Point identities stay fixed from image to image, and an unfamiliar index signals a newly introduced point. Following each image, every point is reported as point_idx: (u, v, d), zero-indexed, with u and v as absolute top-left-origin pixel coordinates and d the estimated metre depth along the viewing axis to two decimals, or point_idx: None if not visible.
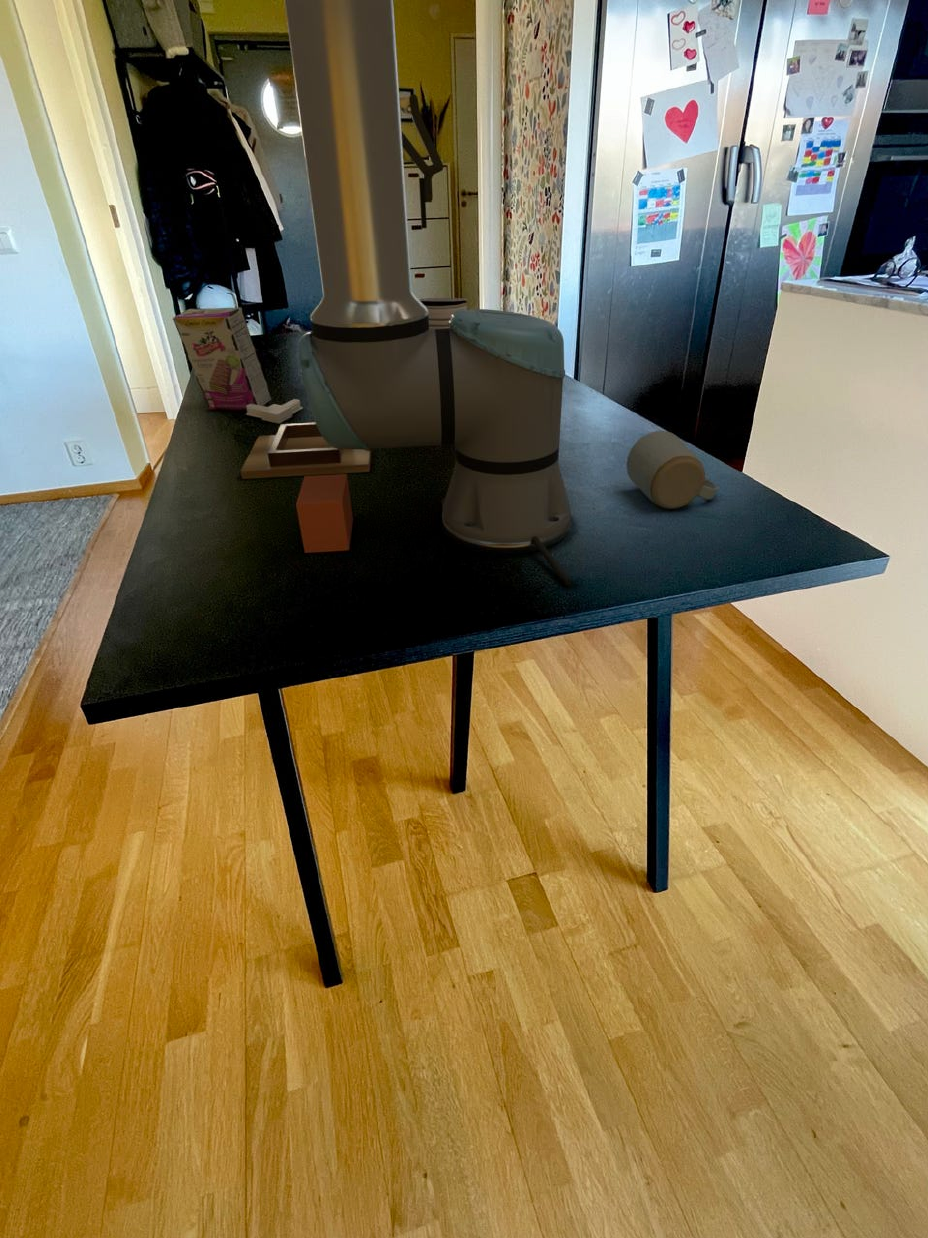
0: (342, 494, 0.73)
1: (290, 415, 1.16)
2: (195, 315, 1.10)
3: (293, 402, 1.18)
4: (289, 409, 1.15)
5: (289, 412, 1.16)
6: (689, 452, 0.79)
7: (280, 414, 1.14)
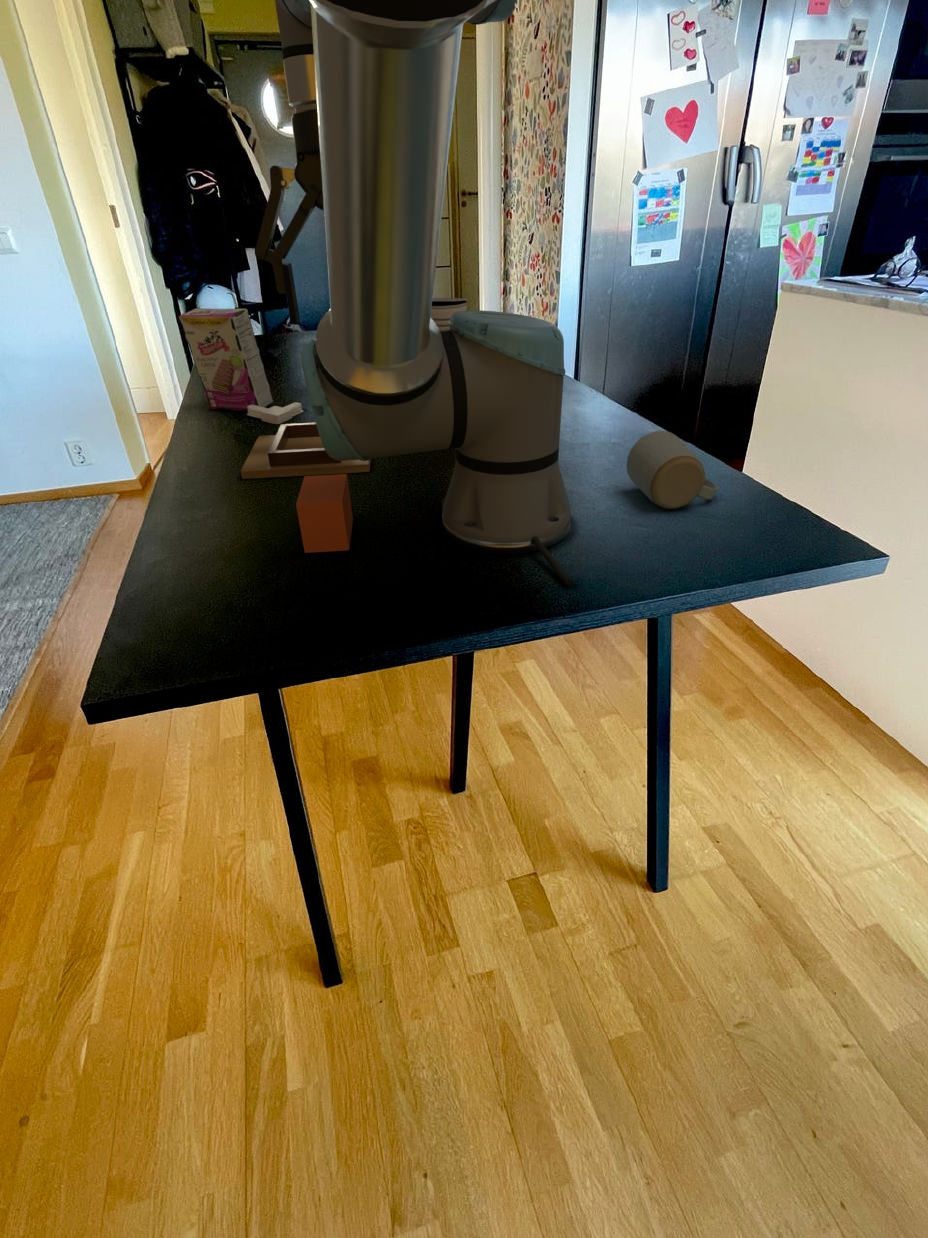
0: (342, 494, 0.73)
1: (290, 417, 1.16)
2: (201, 314, 1.11)
3: (294, 405, 1.19)
4: (289, 411, 1.16)
5: (289, 414, 1.16)
6: (689, 452, 0.79)
7: (280, 416, 1.14)
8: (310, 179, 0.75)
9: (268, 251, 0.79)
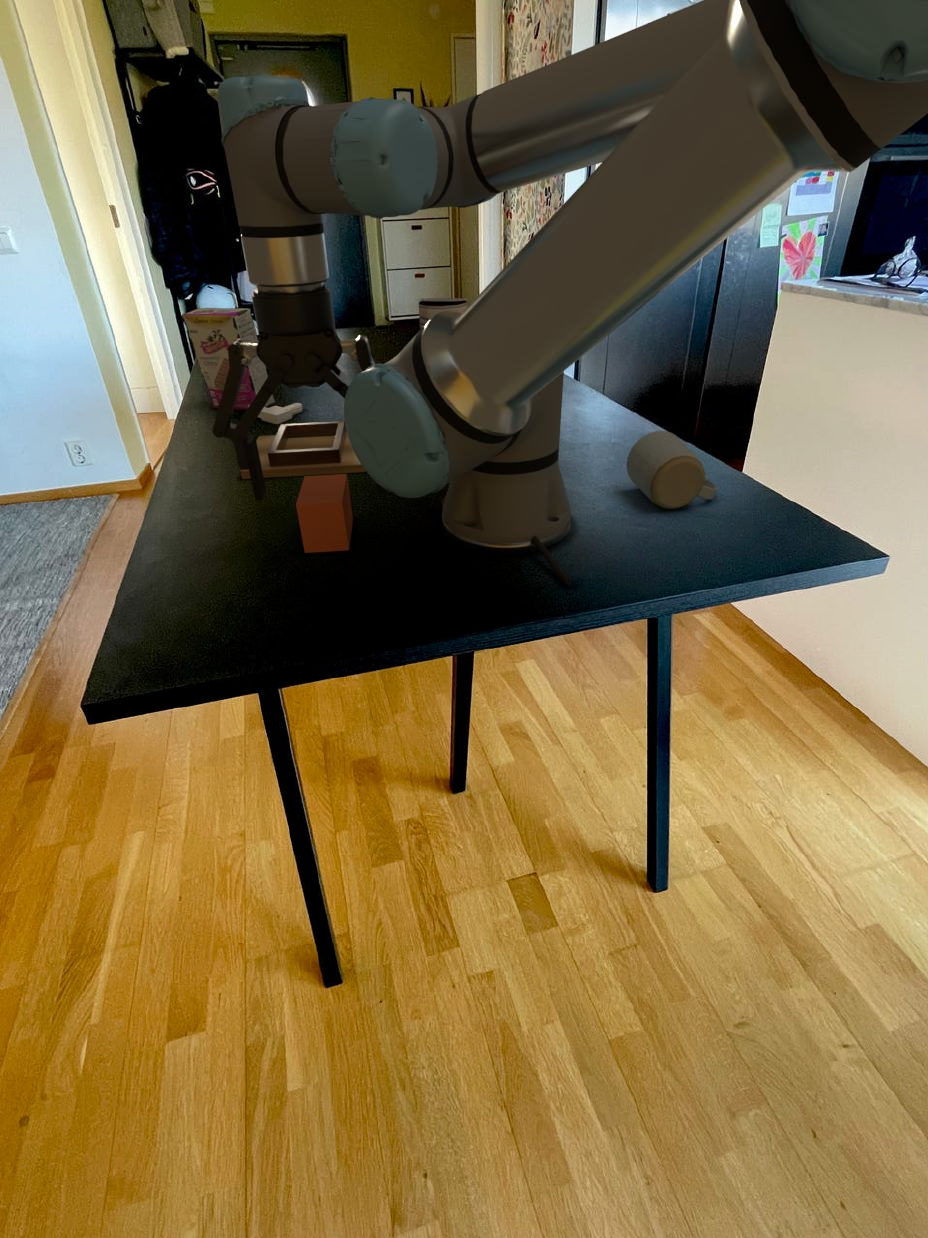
0: (342, 494, 0.73)
1: (290, 417, 1.16)
2: (204, 313, 1.11)
3: (295, 405, 1.19)
4: (289, 411, 1.16)
5: (289, 414, 1.16)
6: (689, 452, 0.79)
7: (279, 415, 1.14)
8: (275, 357, 0.66)
9: (228, 428, 0.70)
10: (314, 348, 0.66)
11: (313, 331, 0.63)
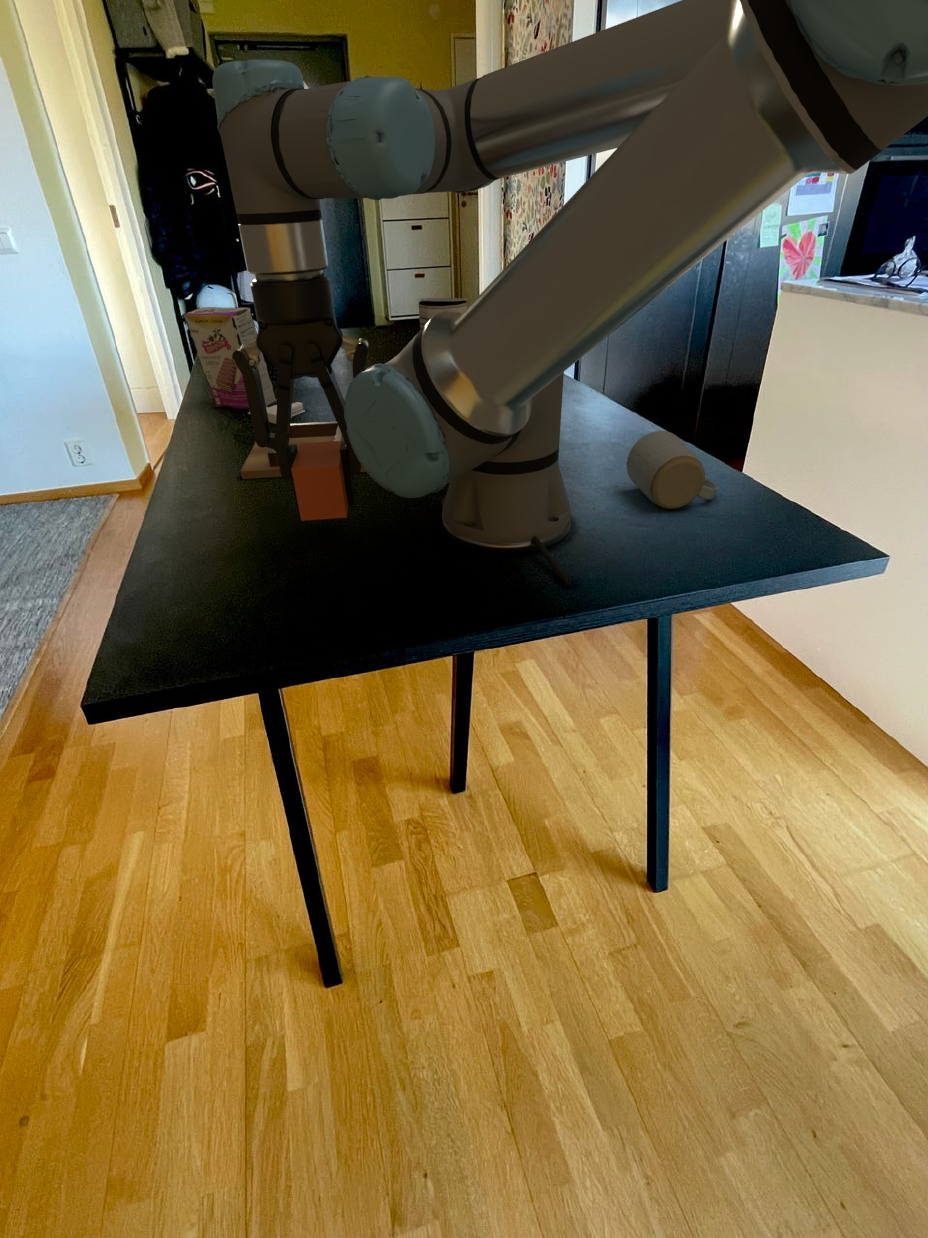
0: (339, 459, 0.71)
1: None
2: (205, 313, 1.12)
3: (295, 405, 1.18)
4: None
5: None
6: (689, 452, 0.79)
7: None
8: (275, 348, 0.65)
9: (271, 438, 0.70)
10: (314, 338, 0.65)
11: (313, 319, 0.62)
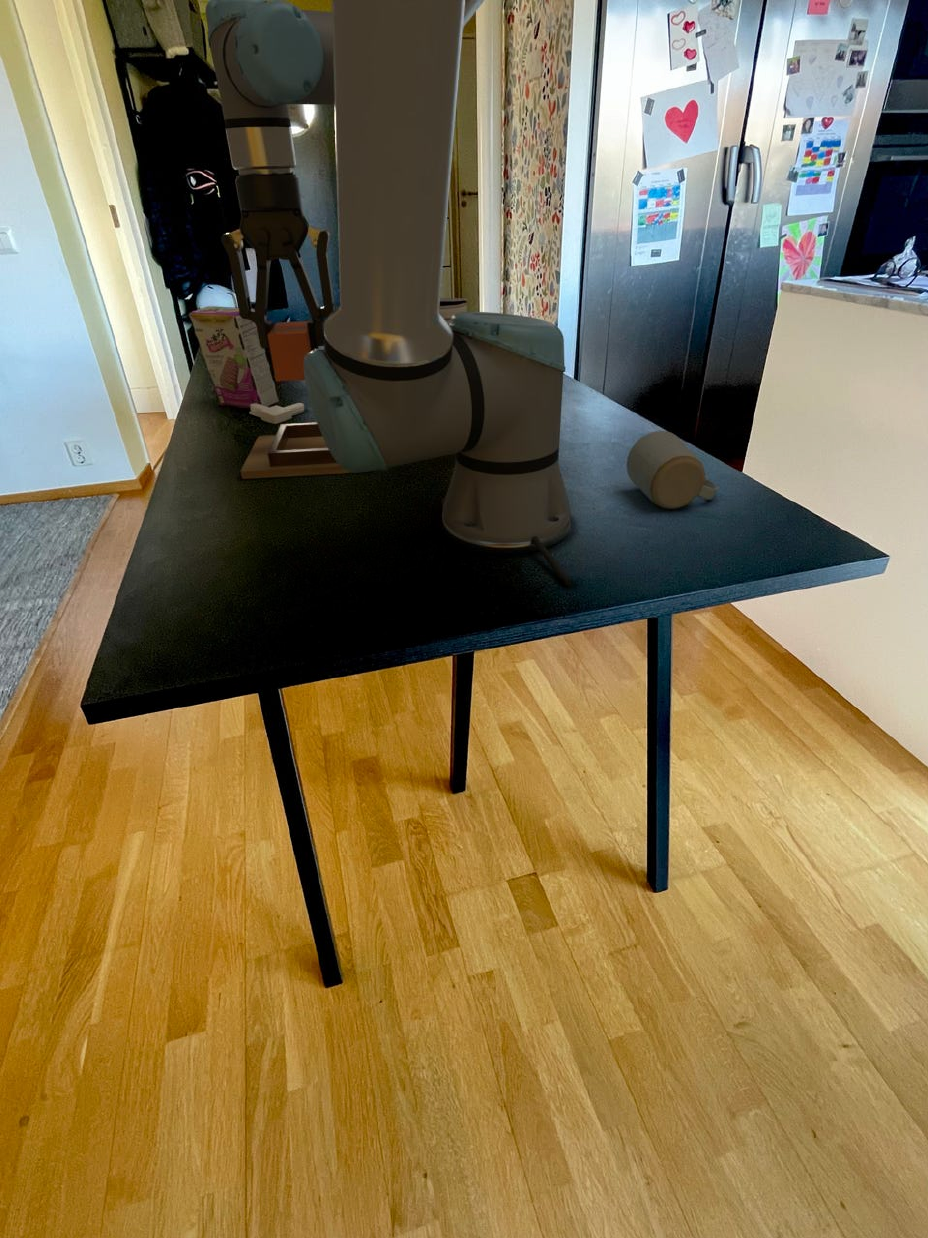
0: (306, 329, 0.89)
1: (289, 418, 1.16)
2: (209, 312, 1.12)
3: (296, 405, 1.19)
4: (289, 412, 1.16)
5: (288, 415, 1.16)
6: (689, 452, 0.79)
7: (277, 416, 1.14)
8: (254, 233, 0.83)
9: (252, 312, 0.88)
10: (286, 225, 0.82)
11: (284, 207, 0.80)
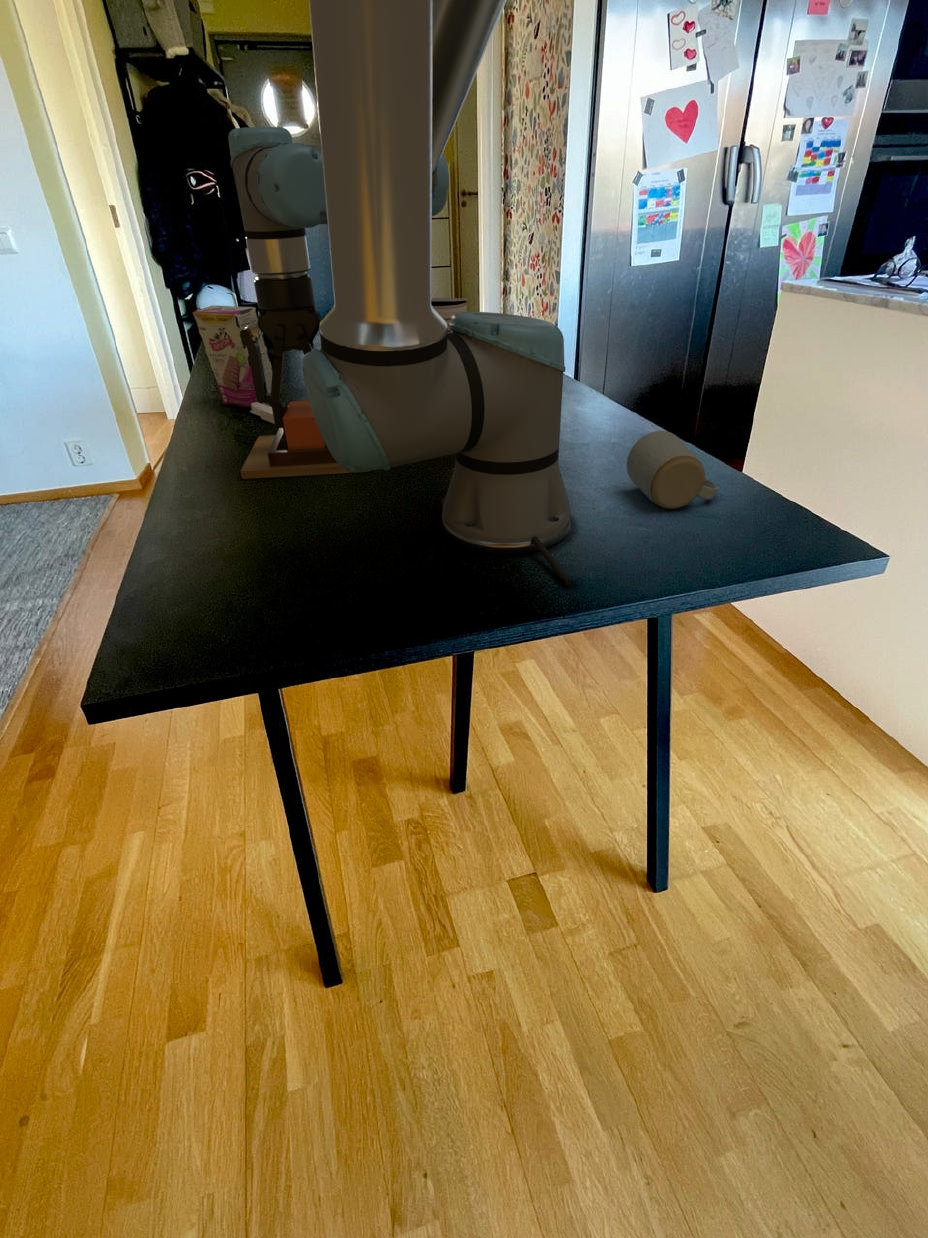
0: None
1: None
2: (212, 311, 1.13)
3: None
4: None
5: None
6: (689, 452, 0.79)
7: None
8: (271, 328, 0.89)
9: (268, 396, 0.94)
10: (300, 321, 0.89)
11: (299, 307, 0.86)
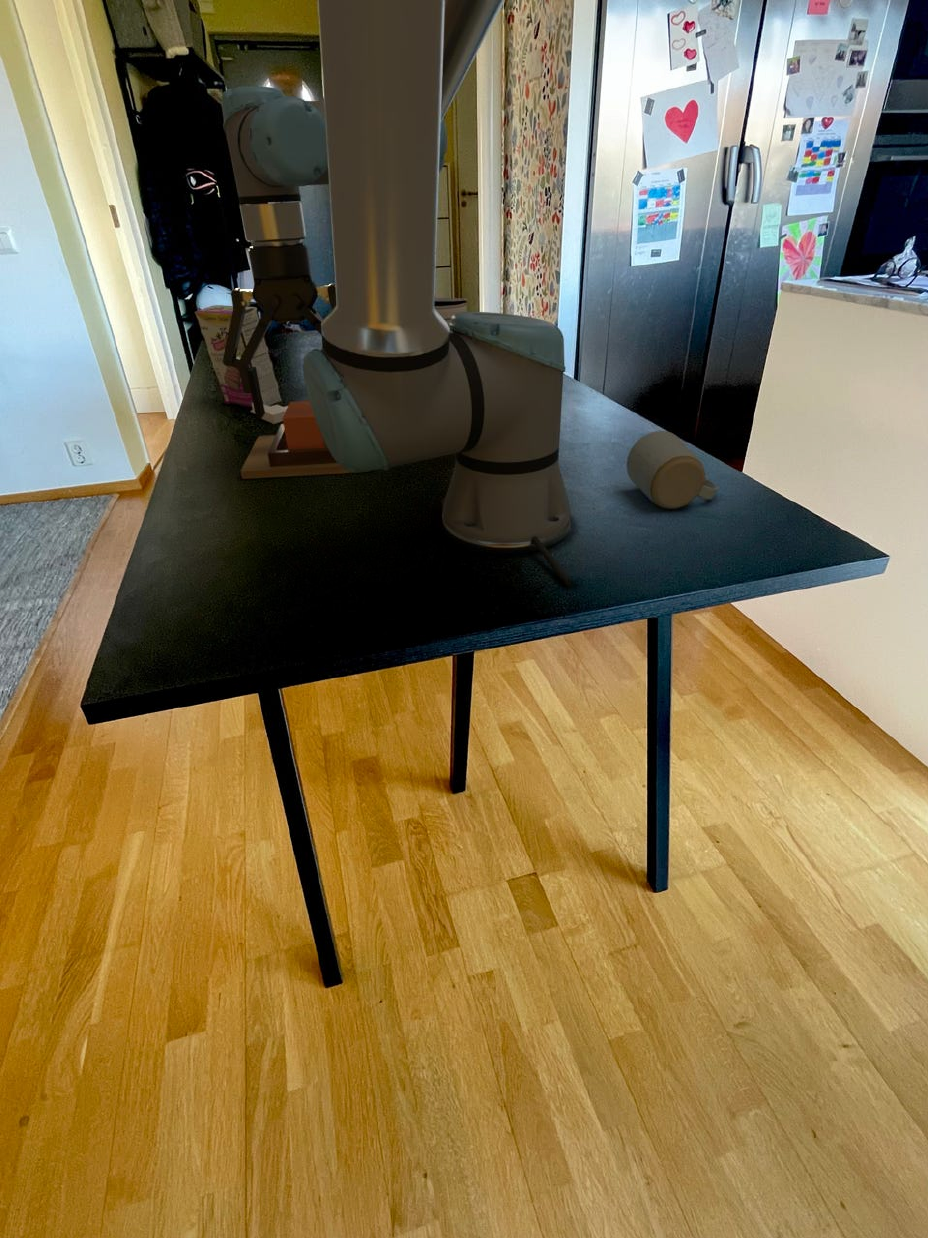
0: None
1: None
2: (213, 311, 1.13)
3: None
4: None
5: None
6: (689, 452, 0.79)
7: (276, 415, 1.14)
8: (266, 299, 0.87)
9: (235, 359, 0.91)
10: (296, 291, 0.87)
11: (294, 276, 0.84)
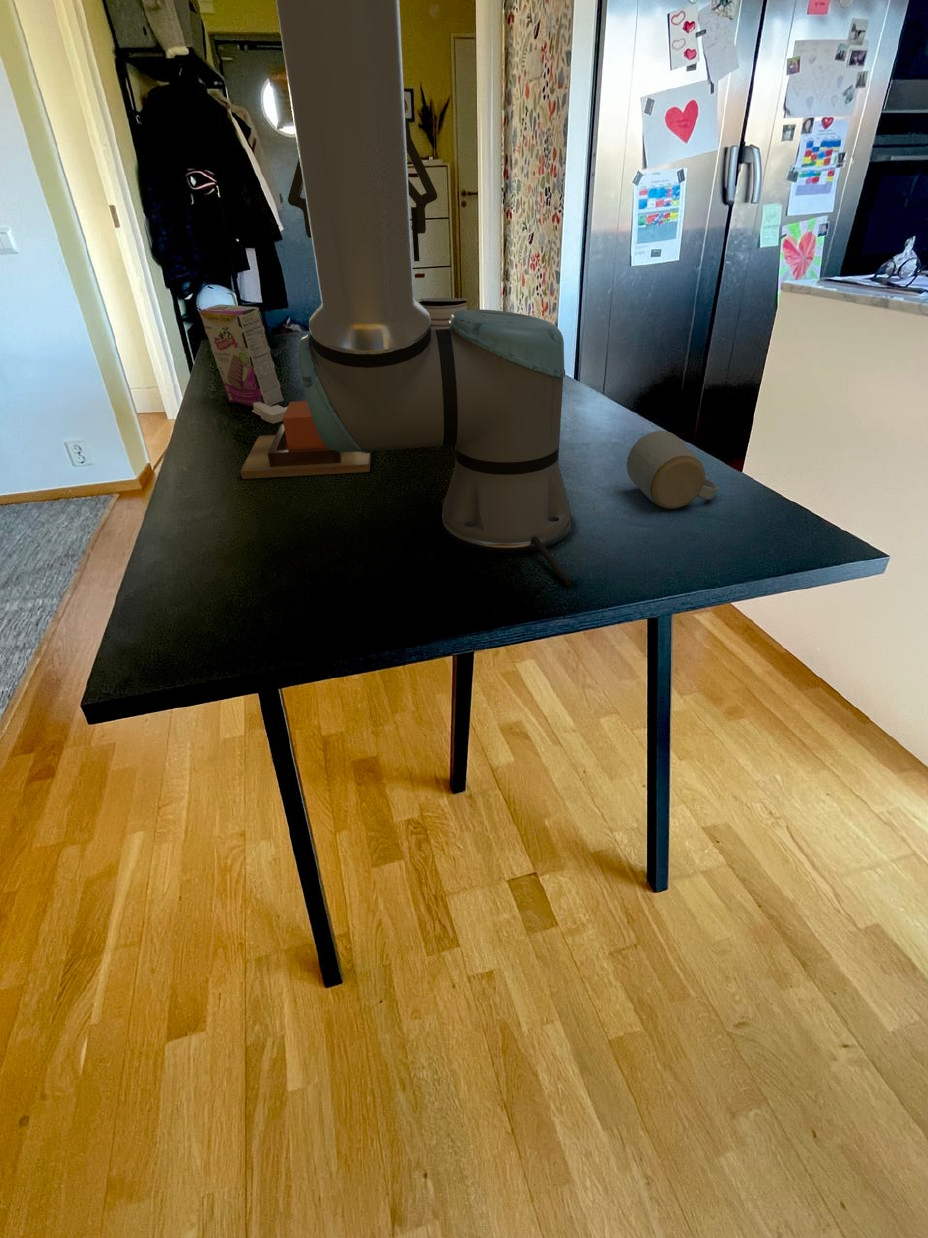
0: None
1: None
2: (216, 310, 1.14)
3: None
4: None
5: None
6: (689, 452, 0.79)
7: (275, 415, 1.14)
8: None
9: (299, 198, 0.90)
10: None
11: None
